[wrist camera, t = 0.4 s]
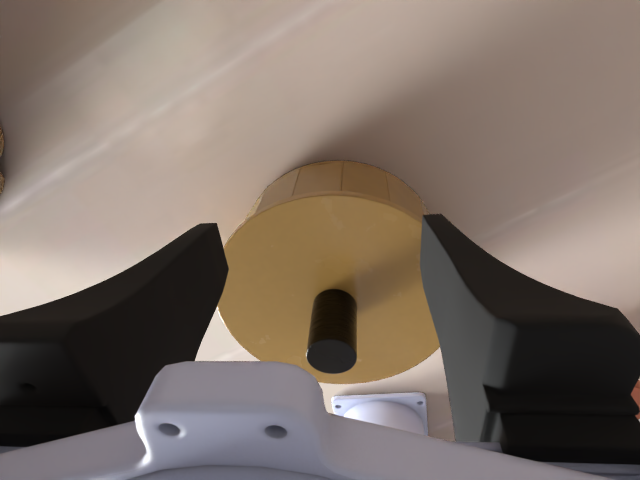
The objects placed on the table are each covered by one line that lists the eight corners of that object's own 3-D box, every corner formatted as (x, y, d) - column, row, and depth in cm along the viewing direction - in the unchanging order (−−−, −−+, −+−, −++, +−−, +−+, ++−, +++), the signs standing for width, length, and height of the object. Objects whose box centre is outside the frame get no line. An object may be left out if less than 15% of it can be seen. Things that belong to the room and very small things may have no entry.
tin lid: (457, 364, 25) (476, 435, 21) (254, 375, 27) (237, 442, 23) (458, 166, 18) (486, 218, 14) (184, 202, 20) (142, 256, 16)
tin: (437, 310, 28) (450, 367, 24) (271, 323, 30) (257, 377, 26) (432, 145, 22) (449, 183, 18) (221, 175, 24) (193, 216, 20)
